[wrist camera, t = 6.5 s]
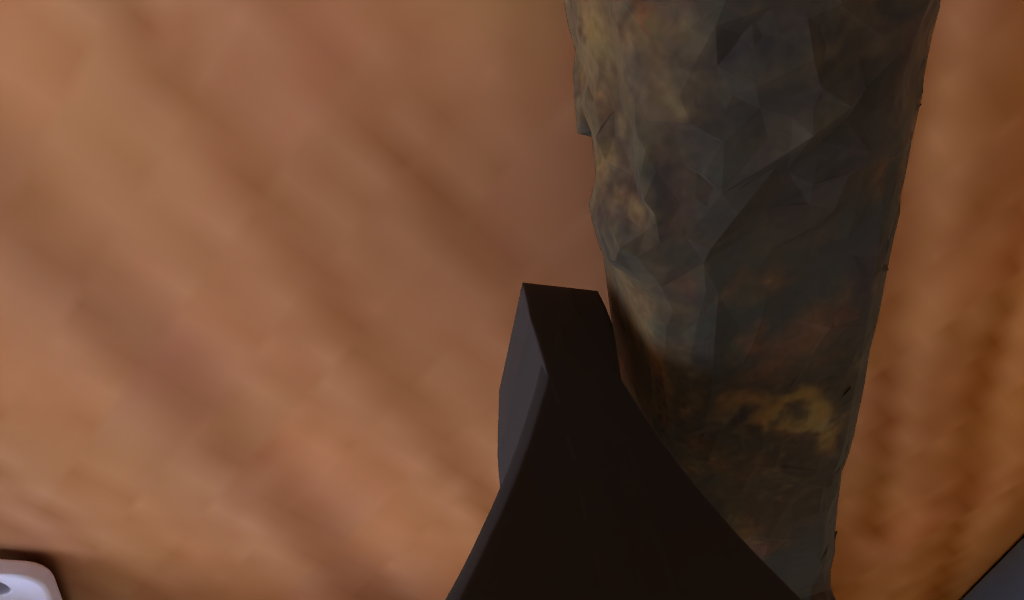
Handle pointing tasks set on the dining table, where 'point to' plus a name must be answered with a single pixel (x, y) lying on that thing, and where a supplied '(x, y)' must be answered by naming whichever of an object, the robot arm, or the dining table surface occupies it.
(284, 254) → the dining table surface
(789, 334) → the hand tool
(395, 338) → the dining table surface
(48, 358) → the dining table surface
